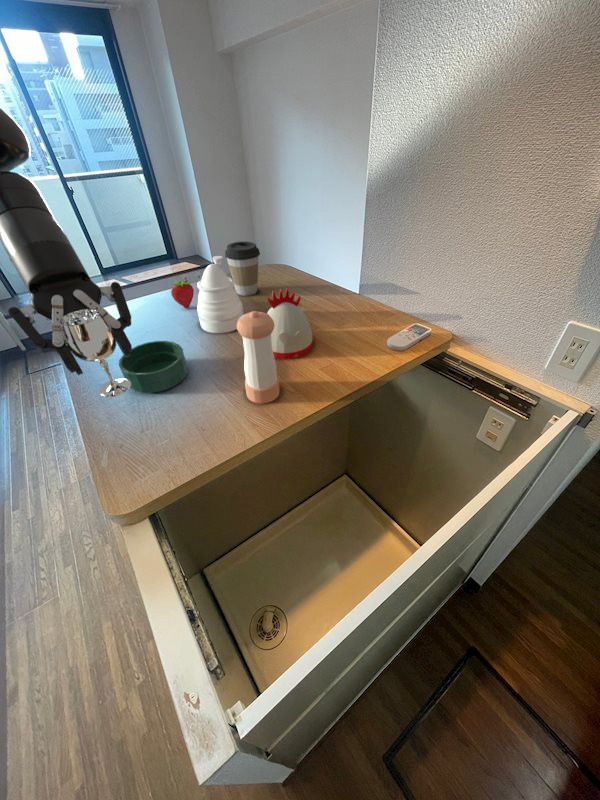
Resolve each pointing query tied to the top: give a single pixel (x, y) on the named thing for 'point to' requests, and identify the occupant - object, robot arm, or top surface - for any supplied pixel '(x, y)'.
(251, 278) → the coffee cup
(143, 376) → the green bowl
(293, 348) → the kitchen timer
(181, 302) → the strawberry
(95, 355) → the wineglass
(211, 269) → the honey pot
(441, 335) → the top surface
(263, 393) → the salt shaker
